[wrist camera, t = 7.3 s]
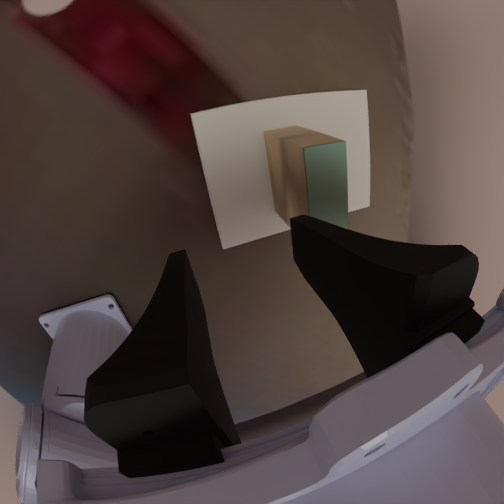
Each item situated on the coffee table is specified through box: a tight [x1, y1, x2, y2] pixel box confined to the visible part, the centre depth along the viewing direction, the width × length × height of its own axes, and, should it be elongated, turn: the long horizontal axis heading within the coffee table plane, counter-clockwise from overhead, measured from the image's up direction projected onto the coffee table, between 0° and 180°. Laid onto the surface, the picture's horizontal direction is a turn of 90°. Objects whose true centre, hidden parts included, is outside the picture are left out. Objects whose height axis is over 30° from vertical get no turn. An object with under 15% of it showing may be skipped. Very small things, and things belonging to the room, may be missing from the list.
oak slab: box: [263, 125, 348, 229], centre depth 17 cm, size 6×2×6 cm, turn 10°
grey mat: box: [190, 90, 370, 249], centre depth 20 cm, size 10×13×1 cm
